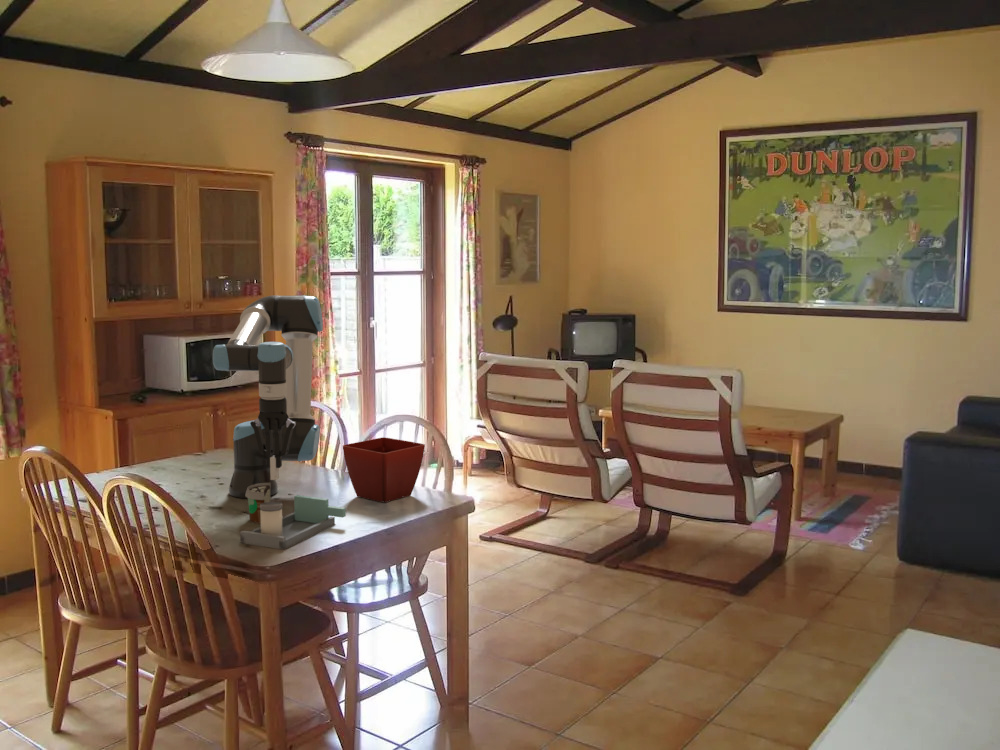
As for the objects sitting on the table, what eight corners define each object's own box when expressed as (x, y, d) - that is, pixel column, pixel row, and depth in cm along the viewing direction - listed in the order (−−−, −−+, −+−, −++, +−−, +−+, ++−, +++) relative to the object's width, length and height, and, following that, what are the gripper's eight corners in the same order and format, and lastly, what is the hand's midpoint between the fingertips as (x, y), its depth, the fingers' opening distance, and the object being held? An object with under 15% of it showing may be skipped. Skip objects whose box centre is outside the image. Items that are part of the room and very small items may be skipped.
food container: (250, 515, 279) (249, 482, 277) (271, 515, 279) (270, 482, 278) (242, 527, 266) (241, 493, 265) (264, 527, 267) (263, 492, 266)
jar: (256, 542, 250) (255, 506, 249) (269, 536, 255) (268, 500, 254) (274, 545, 248) (273, 508, 247) (287, 539, 253) (286, 503, 252)
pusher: (294, 520, 270) (294, 496, 269) (299, 517, 273) (299, 494, 272) (342, 526, 264) (342, 502, 264) (347, 524, 267) (347, 500, 266)
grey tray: (239, 545, 250) (239, 531, 250) (293, 521, 273) (293, 508, 273) (284, 552, 245) (283, 538, 245) (335, 526, 268) (335, 513, 268)
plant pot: (383, 485, 316) (383, 436, 313) (426, 495, 304) (426, 443, 302) (341, 497, 300) (340, 445, 298) (384, 507, 289) (384, 453, 287)
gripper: (245, 398, 262) (247, 481, 266) (290, 400, 261) (292, 483, 265) (255, 394, 270) (257, 474, 273) (299, 395, 268) (301, 476, 272)
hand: (274, 478), depth 269 cm, fingers closed
